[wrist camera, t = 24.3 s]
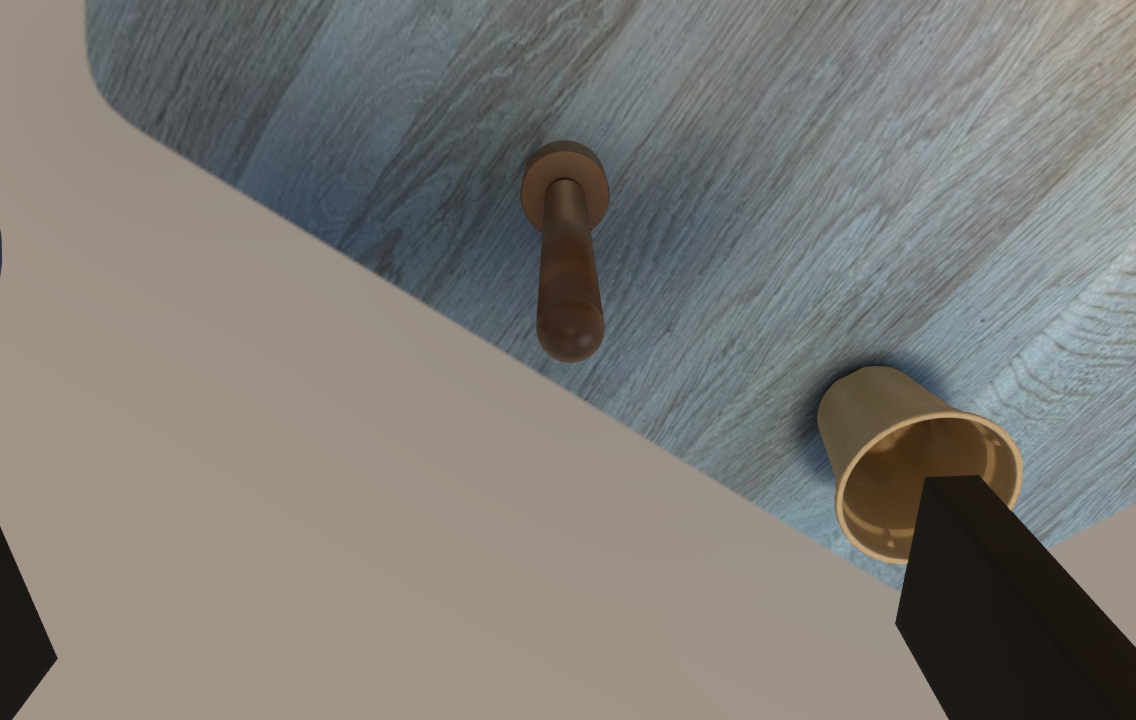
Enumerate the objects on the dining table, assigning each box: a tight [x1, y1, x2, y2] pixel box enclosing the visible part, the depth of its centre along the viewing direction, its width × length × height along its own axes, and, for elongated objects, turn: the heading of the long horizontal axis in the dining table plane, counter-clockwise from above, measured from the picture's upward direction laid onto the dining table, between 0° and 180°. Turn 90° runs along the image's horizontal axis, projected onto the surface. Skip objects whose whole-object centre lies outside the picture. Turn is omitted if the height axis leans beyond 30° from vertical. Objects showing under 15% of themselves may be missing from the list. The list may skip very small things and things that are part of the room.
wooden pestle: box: [521, 141, 609, 363], centre depth 31 cm, size 4×4×21 cm
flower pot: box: [817, 366, 1023, 565], centre depth 42 cm, size 9×9×9 cm
